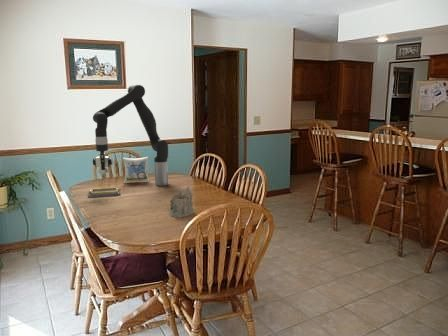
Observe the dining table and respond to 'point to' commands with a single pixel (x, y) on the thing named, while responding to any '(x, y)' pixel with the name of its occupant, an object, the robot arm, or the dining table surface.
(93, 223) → the dining table surface
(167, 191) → the dining table surface
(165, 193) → the dining table surface
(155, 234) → the dining table surface
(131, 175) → the pouch
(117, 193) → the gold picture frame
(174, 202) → the grey rock
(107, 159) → the pneumatic valve
